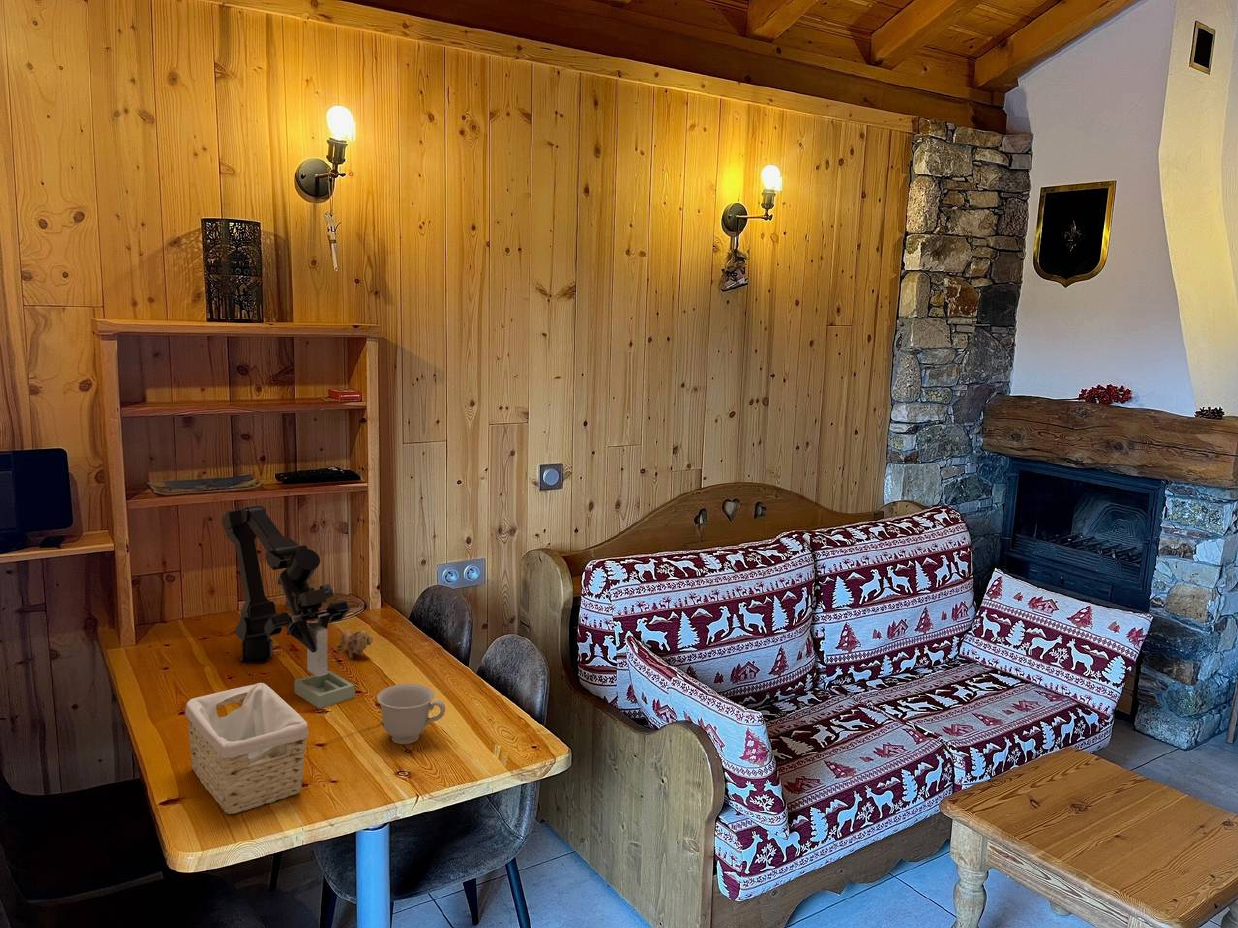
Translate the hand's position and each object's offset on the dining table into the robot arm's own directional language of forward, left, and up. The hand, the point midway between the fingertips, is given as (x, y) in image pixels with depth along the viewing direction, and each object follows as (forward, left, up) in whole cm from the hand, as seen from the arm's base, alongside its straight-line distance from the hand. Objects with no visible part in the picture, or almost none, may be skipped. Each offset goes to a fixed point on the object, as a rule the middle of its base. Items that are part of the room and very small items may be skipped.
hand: (319, 650), depth 208 cm
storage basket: (-6, -33, -14) cm, 36 cm away
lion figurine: (+2, +28, -14) cm, 31 cm away
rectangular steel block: (-1, +1, -6) cm, 6 cm away
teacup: (+23, -16, -14) cm, 31 cm away
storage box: (0, +2, -13) cm, 13 cm away
